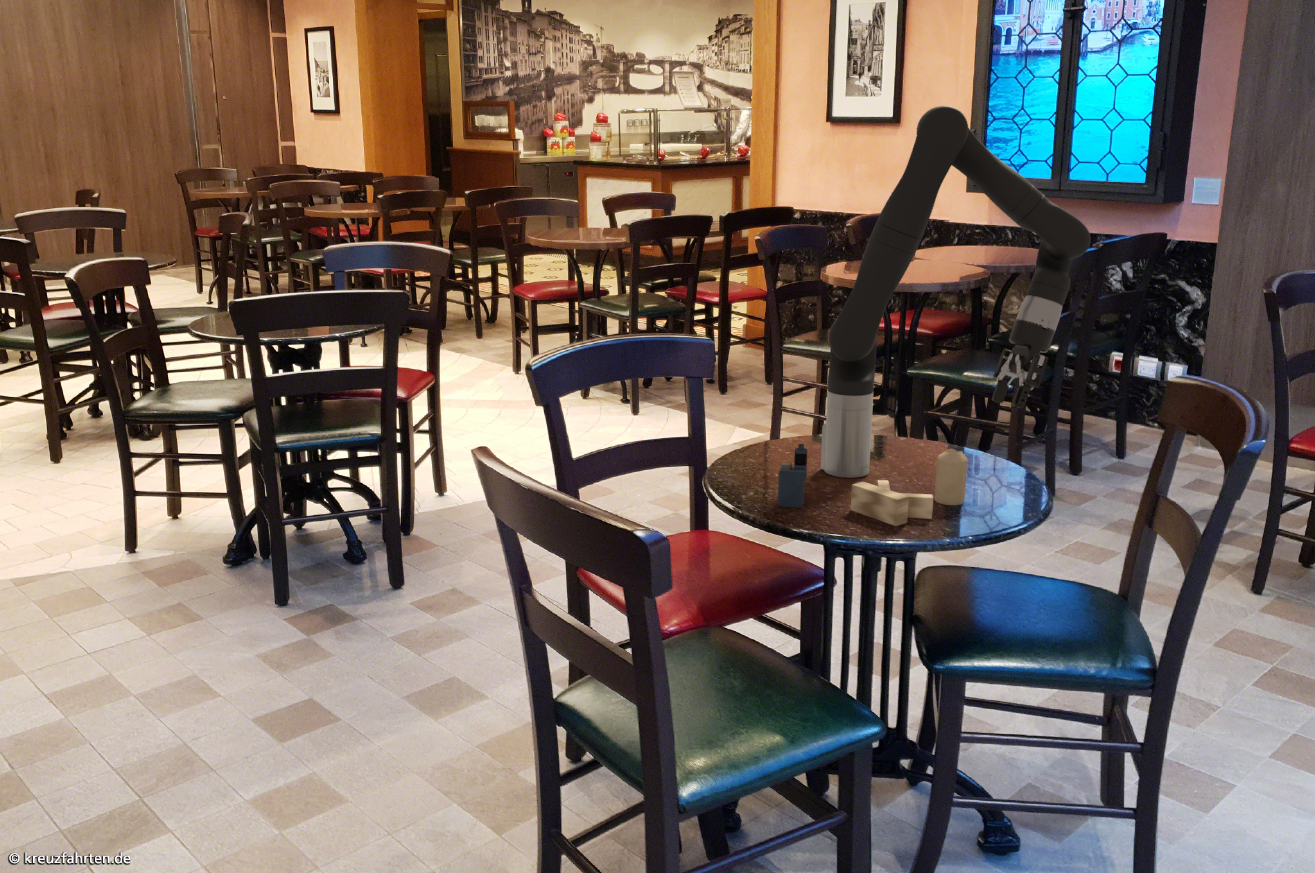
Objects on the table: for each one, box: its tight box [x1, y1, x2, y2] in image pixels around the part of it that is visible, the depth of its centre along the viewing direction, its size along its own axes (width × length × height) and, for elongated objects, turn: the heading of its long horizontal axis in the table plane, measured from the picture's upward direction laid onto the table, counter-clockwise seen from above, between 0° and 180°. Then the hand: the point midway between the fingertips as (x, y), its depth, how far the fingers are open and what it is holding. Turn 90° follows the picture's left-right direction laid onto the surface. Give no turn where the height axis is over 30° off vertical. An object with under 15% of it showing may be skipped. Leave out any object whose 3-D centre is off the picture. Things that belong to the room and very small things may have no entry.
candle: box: [934, 448, 969, 506], centre depth 207 cm, size 6×6×10 cm
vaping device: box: [777, 443, 808, 509], centre depth 204 cm, size 3×5×12 cm, turn 78°
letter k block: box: [850, 479, 934, 527], centre depth 201 cm, size 13×10×5 cm
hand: (1006, 404), depth 210 cm, fingers open, 8 cm apart
